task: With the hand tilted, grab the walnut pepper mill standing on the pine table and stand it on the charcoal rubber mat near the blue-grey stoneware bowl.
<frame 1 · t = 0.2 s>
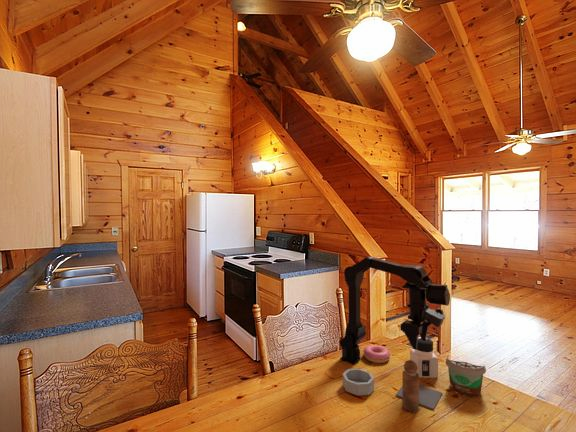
hand: (419, 344, 112), 14 cm above the table, tool pointing down, fingers open, 9 cm apart
food container: (465, 393, 107), on the table
bowl: (358, 387, 110), on the table
doughnut: (376, 358, 132), on the table
mat: (419, 394, 106), on the table
container: (423, 373, 120), on the table
pepper mill: (410, 408, 99), on the table
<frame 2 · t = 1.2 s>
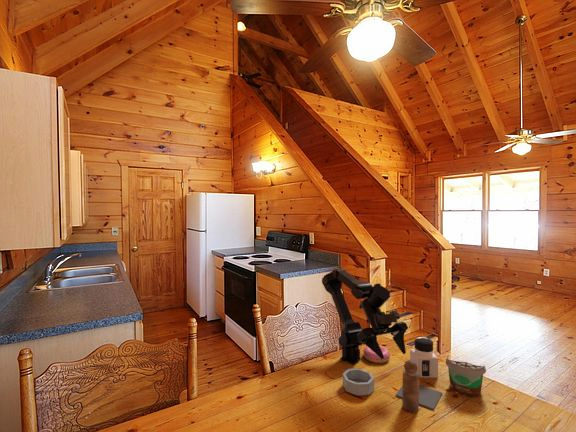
hand: (394, 356, 105), 13 cm above the table, tool tilted 45°, fingers open, 9 cm apart
nothing on the table moved.
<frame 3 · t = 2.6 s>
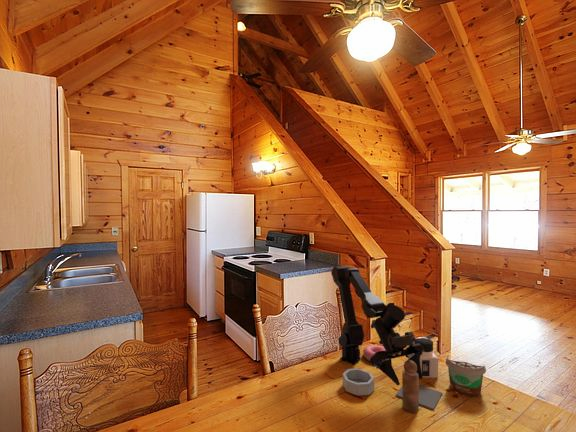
hand: (410, 381, 99), 8 cm above the table, tool tilted 45°, fingers open, 9 cm apart
nothing on the table moved.
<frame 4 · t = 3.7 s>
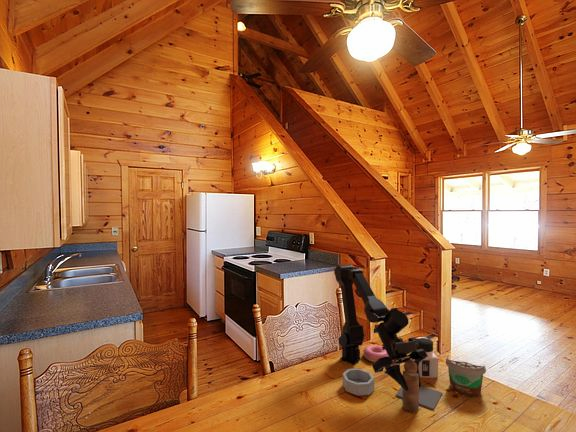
hand: (413, 388, 97), 7 cm above the table, tool tilted 45°, fingers closed on pepper mill, 5 cm apart
pepper mill: (410, 408, 99), on the table, touching gripper
everything else where it was.
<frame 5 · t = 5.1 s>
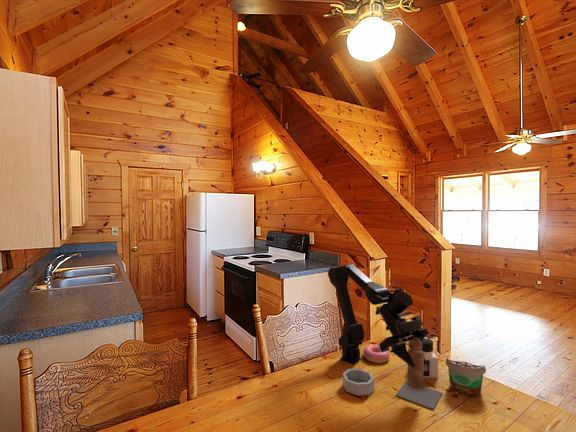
hand: (419, 365, 101), 13 cm above the table, tool tilted 45°, fingers closed on pepper mill, 5 cm apart
pepper mill: (415, 384, 102), point 6 cm above the table, touching gripper
everything else where it was.
when the fingers open (8 cm above the table, at t = 6.8 s): pepper mill stays where it is, resting on mat.
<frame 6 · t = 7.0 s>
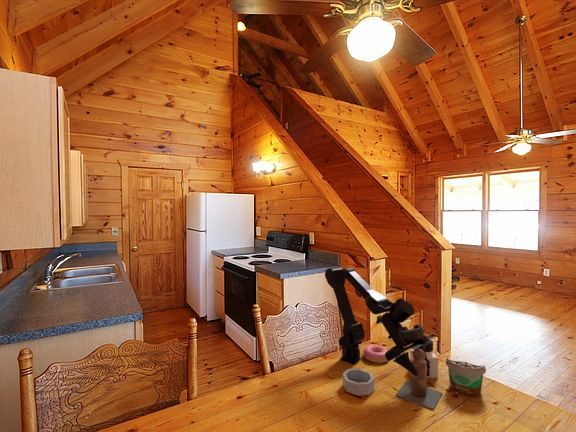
hand: (423, 371, 104), 9 cm above the table, tool tilted 45°, fingers open, 7 cm apart
pepper mill: (418, 393, 106), point 1 cm above the table, touching mat
everything else where it was.
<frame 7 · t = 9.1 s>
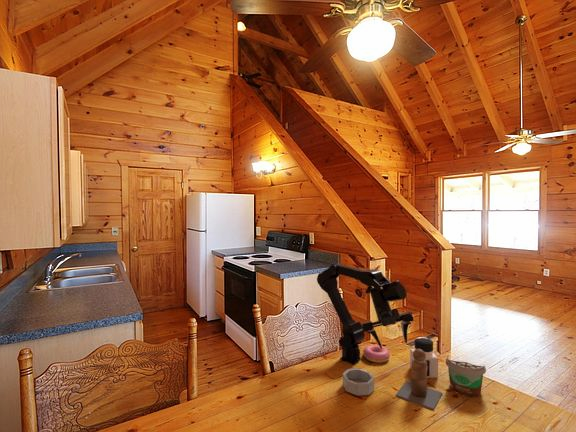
hand: (393, 345, 115), 12 cm above the table, tool tilted 20°, fingers open, 9 cm apart
nothing on the table moved.
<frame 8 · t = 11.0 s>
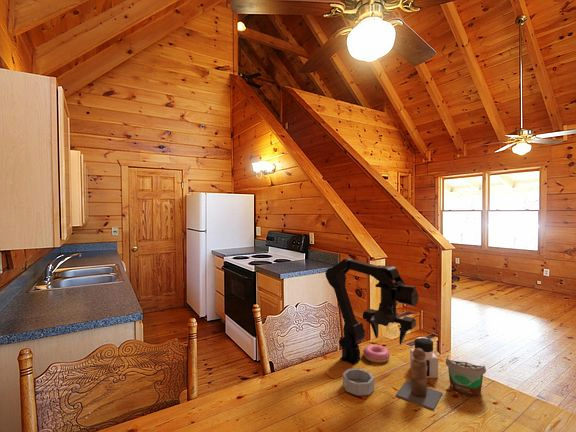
hand: (388, 341, 118), 13 cm above the table, tool pointing down, fingers open, 9 cm apart
nothing on the table moved.
at the end: pepper mill inside the target area on the mat (0.1 cm from its centre), point 0.6 cm above the mat's base; pepper mill tilted 1°; the gripper is holding nothing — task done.
